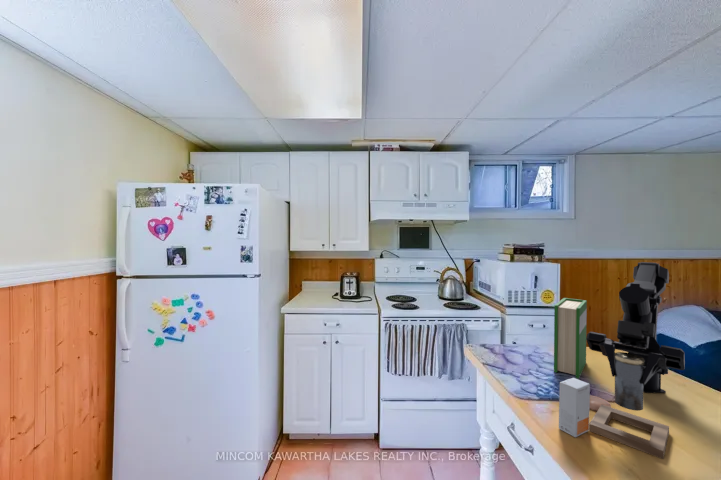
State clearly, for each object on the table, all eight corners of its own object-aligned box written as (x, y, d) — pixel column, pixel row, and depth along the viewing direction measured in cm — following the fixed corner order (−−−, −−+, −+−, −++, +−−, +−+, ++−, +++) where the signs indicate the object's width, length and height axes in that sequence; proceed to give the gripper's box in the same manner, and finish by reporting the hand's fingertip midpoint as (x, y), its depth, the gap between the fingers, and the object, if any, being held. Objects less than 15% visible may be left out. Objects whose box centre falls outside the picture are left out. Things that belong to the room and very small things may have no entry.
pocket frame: (601, 410, 88) (601, 404, 88) (668, 433, 78) (669, 426, 78) (589, 430, 79) (589, 423, 79) (663, 459, 69) (663, 451, 69)
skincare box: (576, 438, 76) (576, 389, 76) (558, 428, 79) (558, 381, 79) (590, 431, 78) (590, 383, 78) (572, 422, 82) (572, 376, 82)
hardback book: (578, 378, 108) (579, 308, 107) (553, 372, 112) (554, 305, 112) (585, 362, 121) (586, 300, 120) (563, 357, 126) (563, 297, 125)
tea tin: (629, 398, 81) (630, 352, 81) (650, 410, 75) (650, 360, 75) (608, 398, 81) (608, 352, 81) (626, 410, 75) (627, 361, 75)
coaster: (596, 396, 95) (596, 394, 95) (618, 411, 87) (618, 408, 87) (570, 397, 95) (570, 394, 95) (589, 411, 87) (589, 408, 87)
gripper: (588, 302, 87) (576, 351, 80) (684, 315, 73) (680, 376, 66) (595, 325, 93) (584, 373, 86) (686, 341, 79) (682, 400, 72)
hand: (627, 379), depth 77 cm, fingers closed on tea tin, 5 cm apart
